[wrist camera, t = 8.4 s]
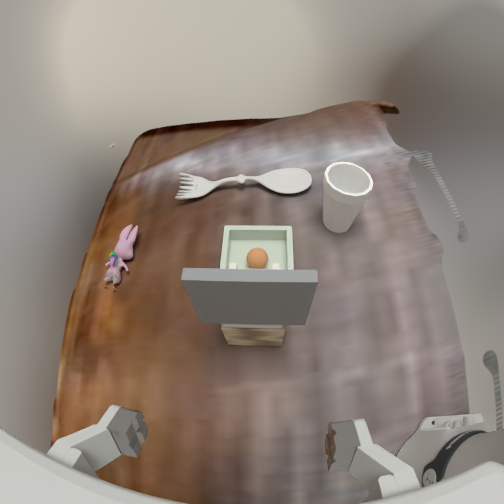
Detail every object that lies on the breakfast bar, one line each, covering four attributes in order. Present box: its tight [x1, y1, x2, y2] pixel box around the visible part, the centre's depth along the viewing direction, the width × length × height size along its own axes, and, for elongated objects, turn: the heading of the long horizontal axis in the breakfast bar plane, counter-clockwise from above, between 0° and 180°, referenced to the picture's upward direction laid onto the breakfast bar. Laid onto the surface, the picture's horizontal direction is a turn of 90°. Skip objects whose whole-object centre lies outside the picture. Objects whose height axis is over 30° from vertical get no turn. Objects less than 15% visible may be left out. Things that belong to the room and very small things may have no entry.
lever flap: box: [181, 263, 318, 328], centre depth 36 cm, size 9×14×12 cm, turn 88°
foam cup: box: [323, 162, 373, 233], centre depth 55 cm, size 10×9×13 cm
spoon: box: [175, 168, 312, 200], centre depth 66 cm, size 9×32×4 cm, turn 94°
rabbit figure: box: [104, 225, 138, 291], centre depth 55 cm, size 6×6×15 cm
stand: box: [221, 324, 285, 346], centre depth 45 cm, size 9×9×9 cm
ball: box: [246, 248, 268, 269], centre depth 53 cm, size 4×4×4 cm
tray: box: [220, 226, 294, 270], centre depth 54 cm, size 13×13×4 cm
